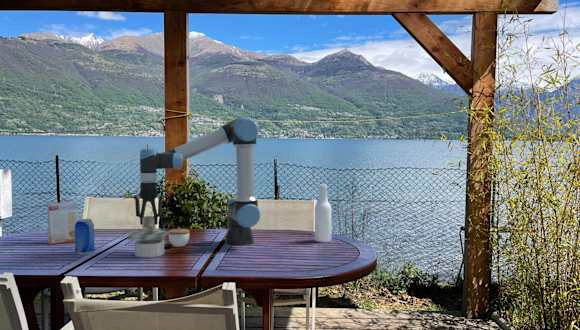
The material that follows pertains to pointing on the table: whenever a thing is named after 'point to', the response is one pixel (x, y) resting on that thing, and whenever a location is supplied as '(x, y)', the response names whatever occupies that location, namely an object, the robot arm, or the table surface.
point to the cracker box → (62, 222)
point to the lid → (148, 231)
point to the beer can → (84, 237)
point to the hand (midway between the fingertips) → (149, 231)
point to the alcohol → (323, 216)
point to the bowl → (149, 248)
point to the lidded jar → (179, 237)
